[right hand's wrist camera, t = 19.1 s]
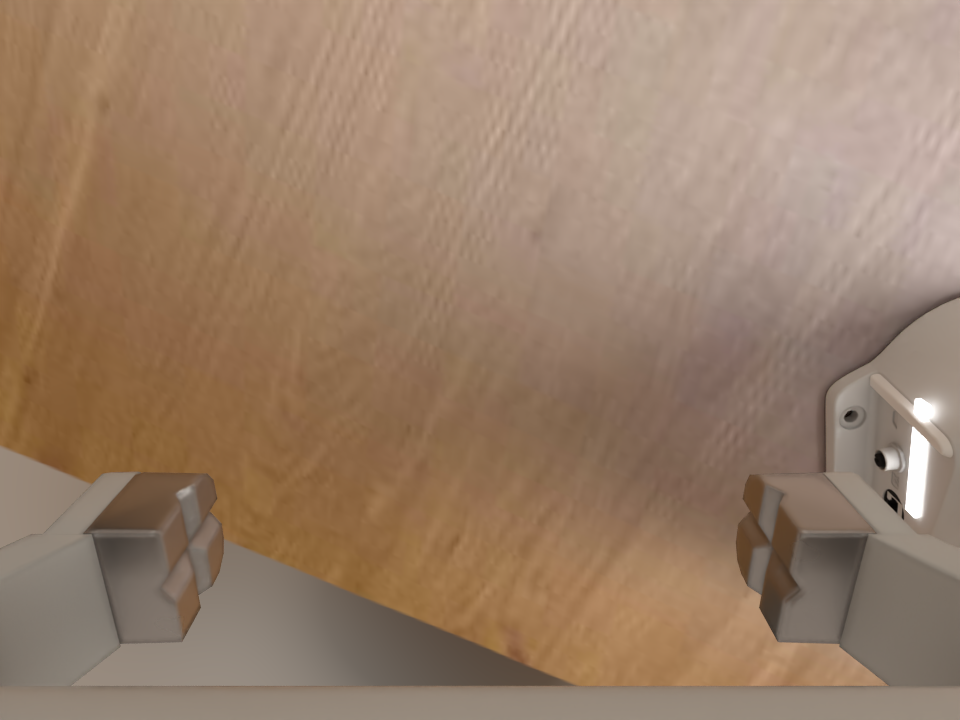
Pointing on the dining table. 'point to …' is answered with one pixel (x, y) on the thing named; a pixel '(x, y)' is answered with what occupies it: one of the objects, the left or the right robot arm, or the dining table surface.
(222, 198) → the dining table surface
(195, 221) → the dining table surface
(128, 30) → the dining table surface
